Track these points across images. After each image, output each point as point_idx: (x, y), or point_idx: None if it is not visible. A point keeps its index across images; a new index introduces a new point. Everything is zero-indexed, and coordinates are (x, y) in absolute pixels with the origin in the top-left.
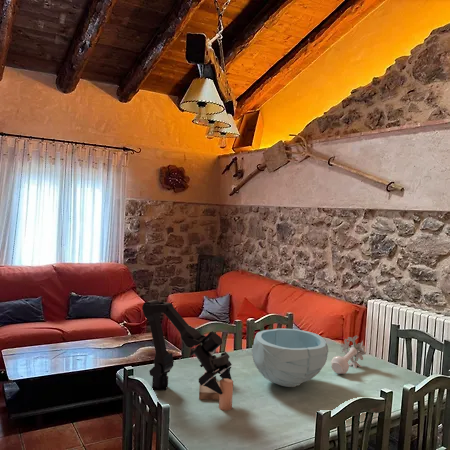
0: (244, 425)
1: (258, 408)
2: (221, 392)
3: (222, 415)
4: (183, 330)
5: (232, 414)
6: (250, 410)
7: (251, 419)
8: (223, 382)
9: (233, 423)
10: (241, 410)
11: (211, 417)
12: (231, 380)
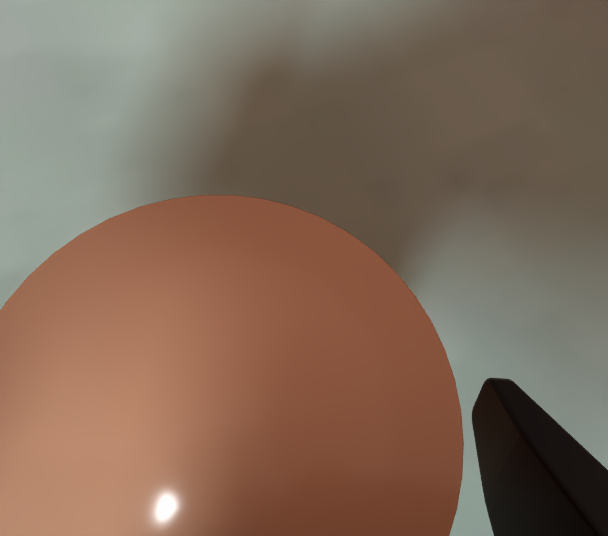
0: (514, 30)
1: (51, 12)
2: (528, 398)
3: (452, 327)
4: None
5: (364, 231)
6: (153, 80)
7: (356, 5)
8: (383, 486)
9: (543, 142)
10: (209, 174)
11: (568, 423)
12: (59, 306)
